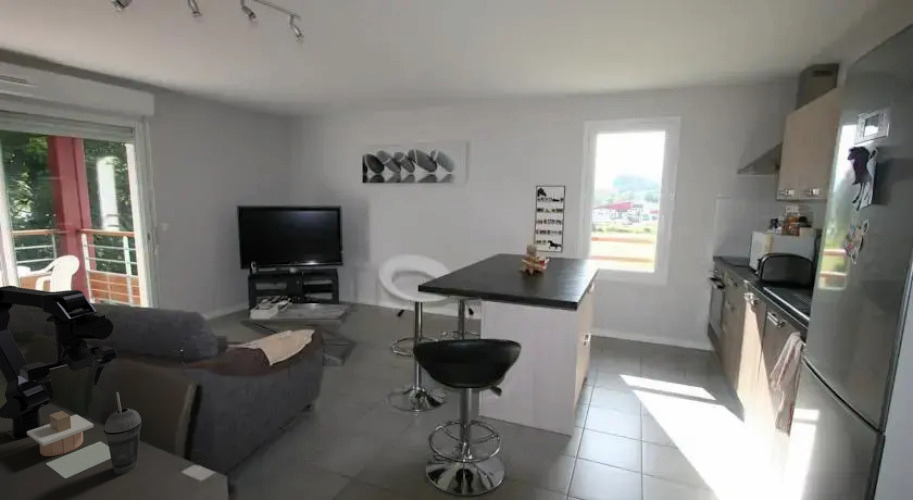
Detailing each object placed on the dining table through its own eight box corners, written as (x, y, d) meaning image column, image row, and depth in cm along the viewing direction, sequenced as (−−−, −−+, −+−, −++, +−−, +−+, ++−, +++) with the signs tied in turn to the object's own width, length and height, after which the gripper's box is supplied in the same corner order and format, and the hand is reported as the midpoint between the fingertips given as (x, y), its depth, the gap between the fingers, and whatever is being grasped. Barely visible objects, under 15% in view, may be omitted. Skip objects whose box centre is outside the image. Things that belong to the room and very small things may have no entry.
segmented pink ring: (35, 451, 106) (34, 433, 106) (75, 436, 113) (73, 419, 113) (48, 461, 102) (47, 442, 102) (88, 445, 110) (87, 427, 109)
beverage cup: (123, 481, 96) (118, 402, 94) (98, 476, 98) (93, 398, 95) (151, 462, 103) (147, 388, 101) (128, 458, 105) (123, 384, 102)
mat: (45, 465, 101) (45, 463, 101) (100, 442, 111) (100, 441, 111) (65, 480, 96) (65, 478, 96) (120, 455, 106) (120, 453, 106)
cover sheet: (27, 434, 105) (25, 418, 105) (76, 417, 114) (75, 402, 113) (43, 446, 101) (41, 429, 100) (93, 426, 109) (92, 411, 109)
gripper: (34, 353, 98) (40, 414, 100) (125, 333, 115) (128, 385, 117) (16, 345, 103) (22, 402, 105) (106, 326, 120) (109, 376, 122)
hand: (74, 391), depth 112 cm, fingers open, 9 cm apart
